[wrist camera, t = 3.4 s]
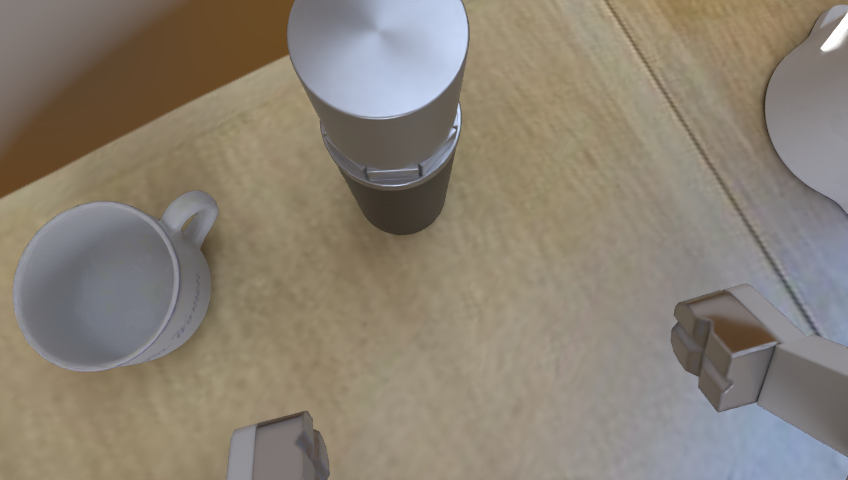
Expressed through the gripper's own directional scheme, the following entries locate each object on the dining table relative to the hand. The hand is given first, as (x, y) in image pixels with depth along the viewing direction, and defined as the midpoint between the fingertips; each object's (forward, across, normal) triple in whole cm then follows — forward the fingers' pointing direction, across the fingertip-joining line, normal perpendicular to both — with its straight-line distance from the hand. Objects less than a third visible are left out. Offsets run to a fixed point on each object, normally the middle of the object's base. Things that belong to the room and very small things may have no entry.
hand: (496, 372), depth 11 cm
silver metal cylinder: (+18, 0, +2) cm, 18 cm away
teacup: (+28, +19, +14) cm, 37 cm away
